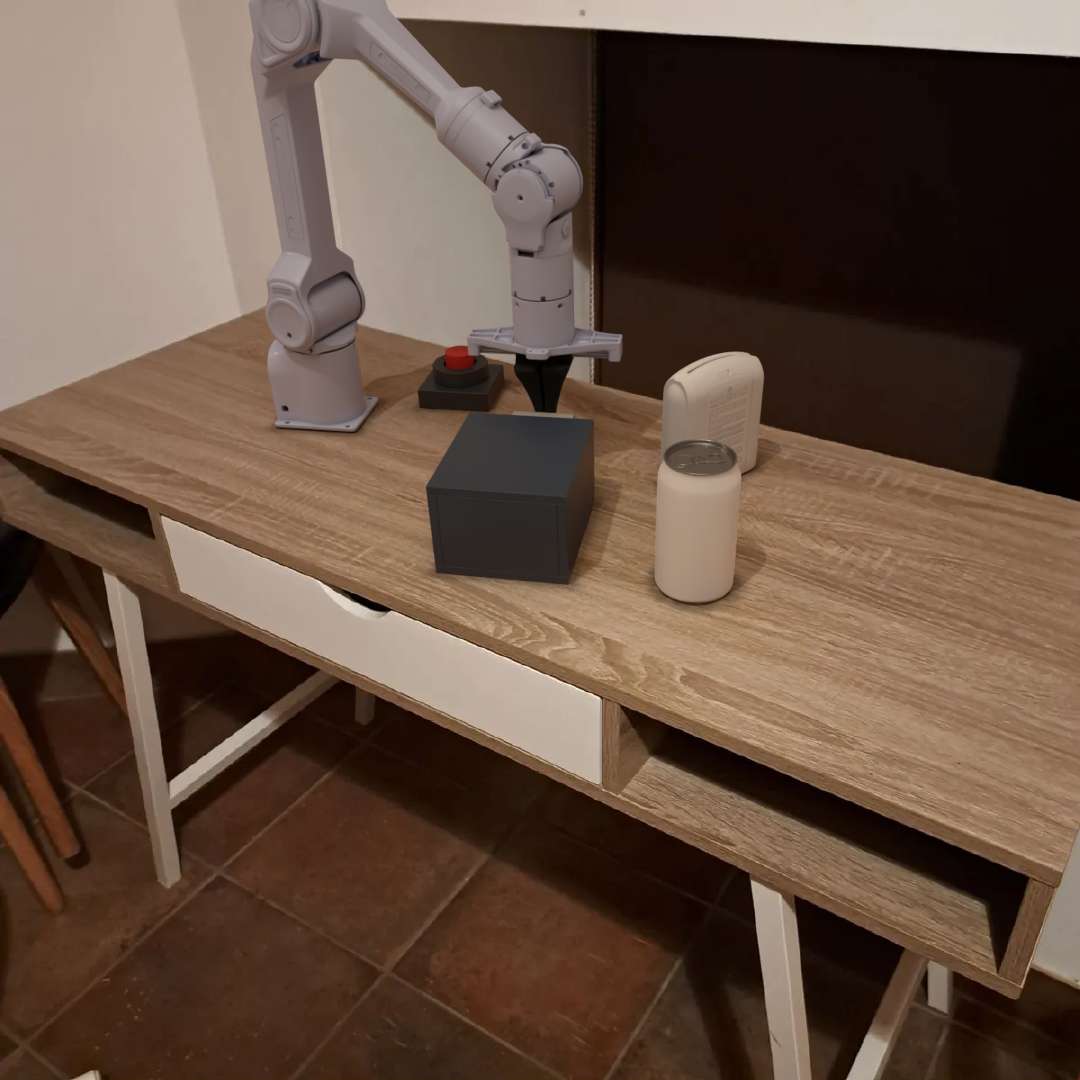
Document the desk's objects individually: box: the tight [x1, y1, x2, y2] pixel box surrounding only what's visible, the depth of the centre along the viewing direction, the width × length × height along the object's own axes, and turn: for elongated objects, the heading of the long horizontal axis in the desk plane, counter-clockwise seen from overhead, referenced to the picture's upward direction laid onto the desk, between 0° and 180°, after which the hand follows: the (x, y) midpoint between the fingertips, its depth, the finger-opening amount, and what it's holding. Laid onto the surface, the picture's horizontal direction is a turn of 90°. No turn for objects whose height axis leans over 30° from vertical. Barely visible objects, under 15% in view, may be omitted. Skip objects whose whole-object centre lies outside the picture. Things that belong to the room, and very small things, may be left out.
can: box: [654, 439, 742, 605], centre depth 81 cm, size 6×6×12 cm
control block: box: [417, 353, 505, 412], centre depth 115 cm, size 8×8×4 cm
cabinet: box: [425, 411, 596, 585], centre depth 89 cm, size 14×12×9 cm
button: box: [444, 344, 474, 369], centre depth 114 cm, size 3×3×2 cm
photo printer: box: [660, 351, 765, 475], centre depth 95 cm, size 10×4×12 cm, turn 123°
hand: (547, 423), depth 100 cm, fingers closed, pressing on drawer
